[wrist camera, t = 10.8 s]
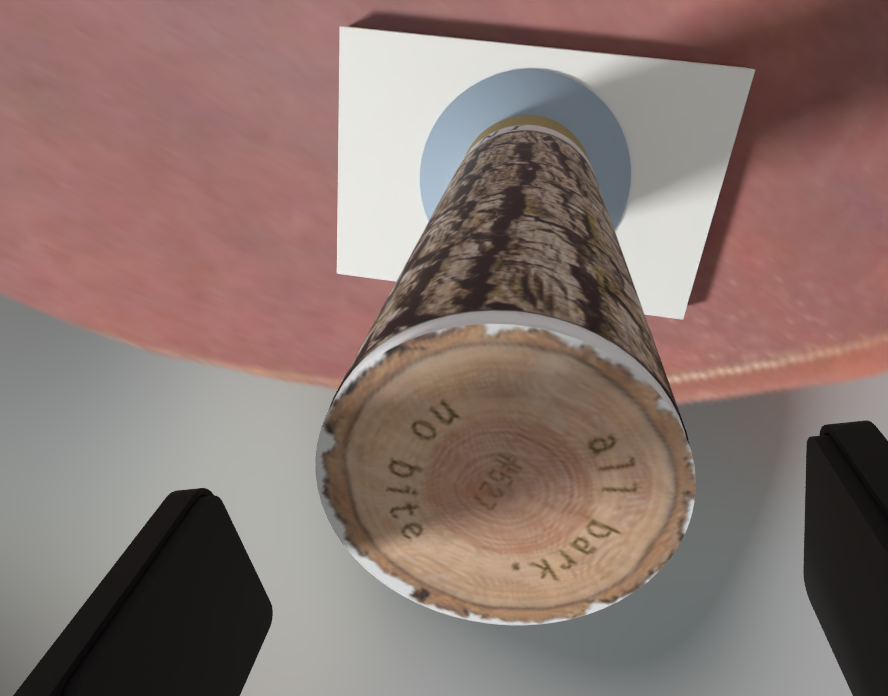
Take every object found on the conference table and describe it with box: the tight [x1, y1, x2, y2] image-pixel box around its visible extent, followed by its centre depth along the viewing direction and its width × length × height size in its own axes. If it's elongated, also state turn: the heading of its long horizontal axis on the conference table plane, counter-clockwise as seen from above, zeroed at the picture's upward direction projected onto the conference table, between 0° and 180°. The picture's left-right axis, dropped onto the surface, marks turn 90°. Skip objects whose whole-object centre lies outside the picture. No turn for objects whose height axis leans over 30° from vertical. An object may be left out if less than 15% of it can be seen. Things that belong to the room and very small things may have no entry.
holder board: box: [337, 26, 755, 319], centre depth 34 cm, size 20×13×2 cm, turn 85°
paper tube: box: [316, 115, 696, 625], centre depth 22 cm, size 7×7×25 cm
